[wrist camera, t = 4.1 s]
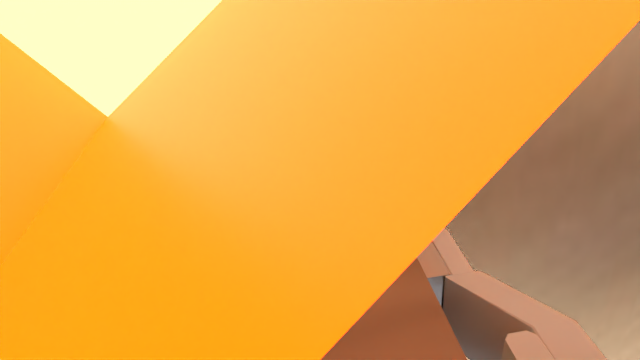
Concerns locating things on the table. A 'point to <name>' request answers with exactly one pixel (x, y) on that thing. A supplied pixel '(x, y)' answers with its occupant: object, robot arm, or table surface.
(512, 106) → the orange juice
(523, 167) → the table surface
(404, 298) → the peg
